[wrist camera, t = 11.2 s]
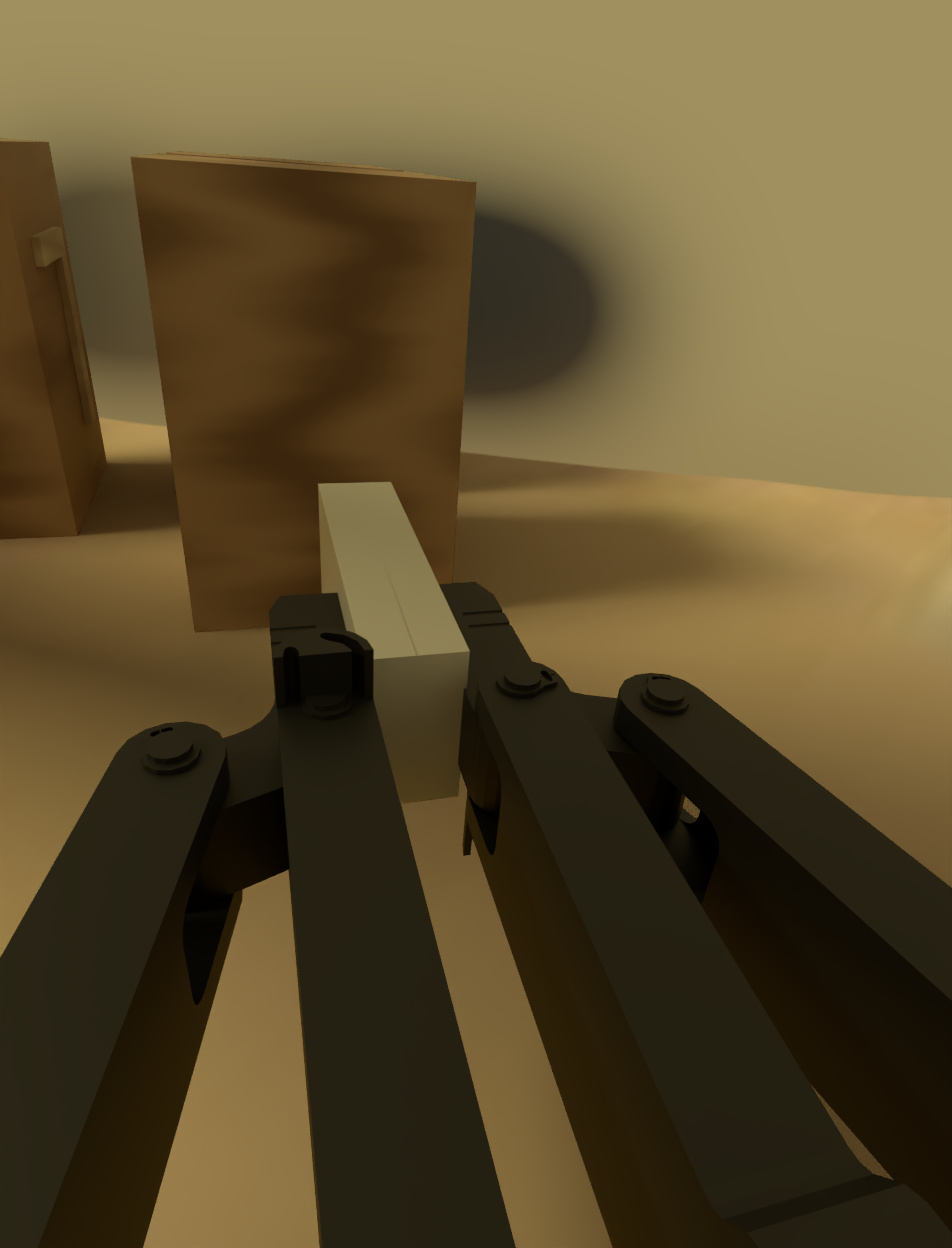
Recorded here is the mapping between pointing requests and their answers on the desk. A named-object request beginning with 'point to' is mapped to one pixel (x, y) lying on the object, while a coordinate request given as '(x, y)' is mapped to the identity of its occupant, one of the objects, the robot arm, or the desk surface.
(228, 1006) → the desk surface
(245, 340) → the plain block
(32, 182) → the block seven
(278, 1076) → the desk surface
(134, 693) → the desk surface
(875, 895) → the robot arm
